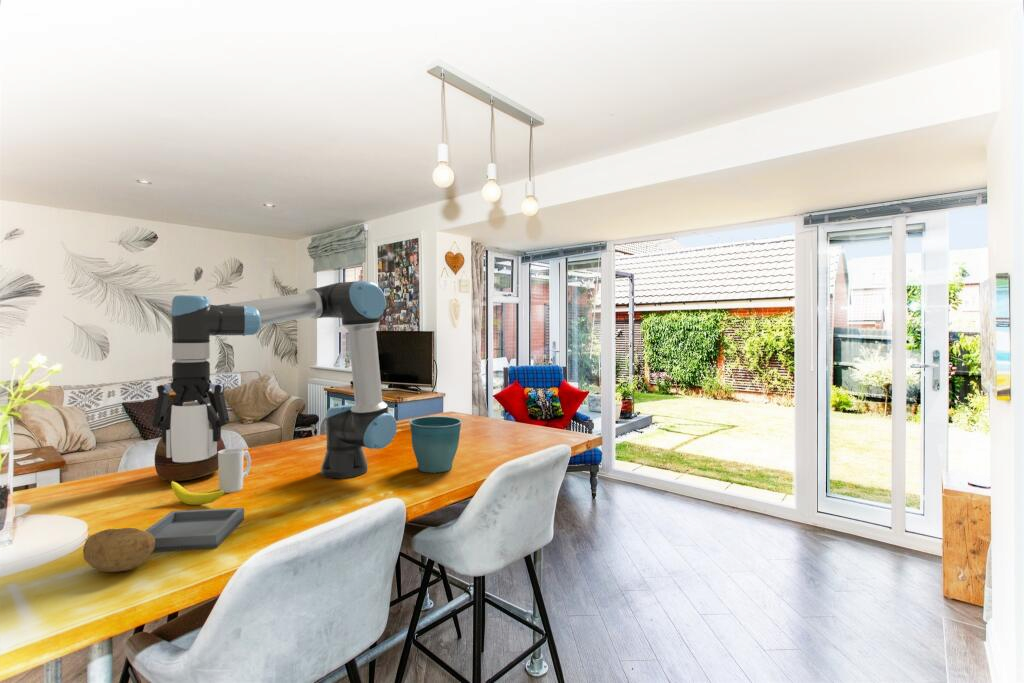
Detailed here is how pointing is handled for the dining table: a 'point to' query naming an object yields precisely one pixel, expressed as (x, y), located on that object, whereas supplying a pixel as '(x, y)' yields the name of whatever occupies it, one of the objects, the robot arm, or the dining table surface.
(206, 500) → the banana
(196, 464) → the ceramic pitcher
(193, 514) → the tray
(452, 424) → the flower pot
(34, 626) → the dining table surface
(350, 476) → the robot arm
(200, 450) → the cup
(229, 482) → the mug
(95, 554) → the potato
